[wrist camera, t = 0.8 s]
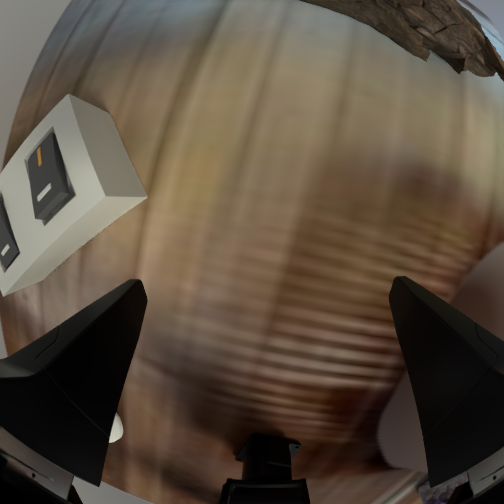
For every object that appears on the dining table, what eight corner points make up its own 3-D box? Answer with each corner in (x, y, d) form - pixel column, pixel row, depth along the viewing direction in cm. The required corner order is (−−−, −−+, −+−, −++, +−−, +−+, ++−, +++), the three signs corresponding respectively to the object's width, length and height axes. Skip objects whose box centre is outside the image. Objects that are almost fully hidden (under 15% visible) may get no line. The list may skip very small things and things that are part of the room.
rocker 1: (24, 247, 18) (17, 251, 17) (10, 264, 19) (4, 268, 17) (-1, 195, 16) (-8, 198, 15) (-13, 216, 17) (-20, 218, 16)
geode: (398, 500, 31) (411, 529, 21) (430, 467, 30) (449, 495, 20) (450, 490, 30) (464, 511, 20) (478, 459, 29) (496, 479, 20)
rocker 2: (69, 194, 16) (59, 191, 15) (44, 220, 16) (34, 218, 15) (59, 135, 16) (51, 131, 15) (35, 162, 17) (27, 159, 16)
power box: (148, 197, 23) (105, 196, 16) (43, 280, 25) (3, 296, 18) (98, 82, 21) (59, 59, 14) (8, 178, 23) (-30, 178, 16)
